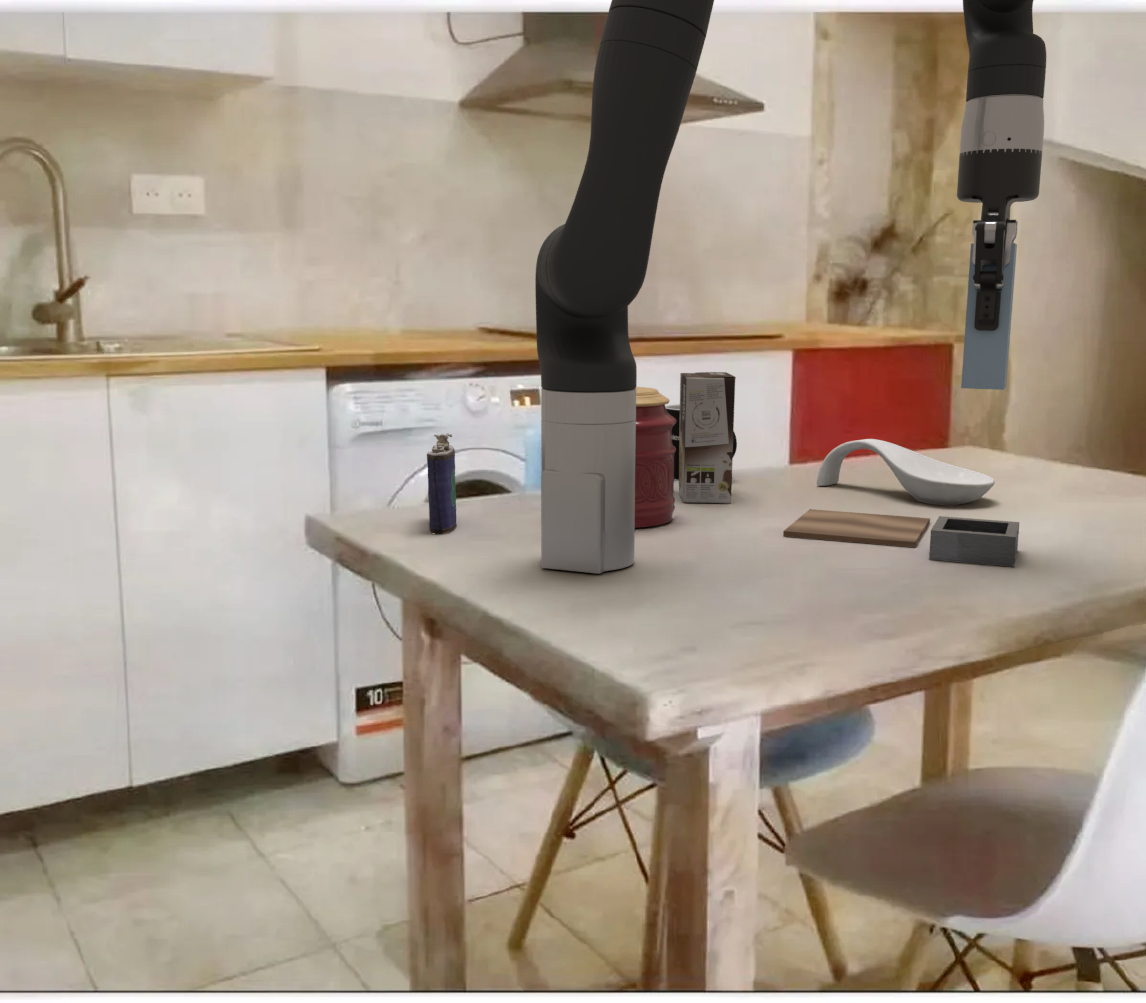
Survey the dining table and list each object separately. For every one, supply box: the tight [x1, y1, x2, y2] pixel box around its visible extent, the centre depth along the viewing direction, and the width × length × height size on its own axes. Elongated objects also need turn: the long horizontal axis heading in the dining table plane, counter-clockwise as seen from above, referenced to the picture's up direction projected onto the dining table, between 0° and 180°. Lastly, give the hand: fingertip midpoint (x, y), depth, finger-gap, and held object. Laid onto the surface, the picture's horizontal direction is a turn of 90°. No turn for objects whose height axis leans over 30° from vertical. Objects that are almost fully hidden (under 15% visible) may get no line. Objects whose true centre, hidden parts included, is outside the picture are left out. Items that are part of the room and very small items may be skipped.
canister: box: [635, 386, 676, 529], centre depth 135 cm, size 13×13×18 cm
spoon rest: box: [816, 438, 996, 506], centre depth 153 cm, size 24×12×7 cm, turn 47°
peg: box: [960, 242, 1018, 391], centre depth 114 cm, size 4×4×14 cm
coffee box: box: [678, 371, 737, 504], centre depth 150 cm, size 9×6×16 cm
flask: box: [426, 433, 458, 535], centre depth 132 cm, size 9×3×11 cm, turn 1°
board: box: [782, 508, 931, 549], centre depth 131 cm, size 14×14×1 cm
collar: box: [928, 515, 1020, 568], centre depth 119 cm, size 8×8×3 cm
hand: (987, 328), depth 115 cm, fingers closed on peg, 4 cm apart
